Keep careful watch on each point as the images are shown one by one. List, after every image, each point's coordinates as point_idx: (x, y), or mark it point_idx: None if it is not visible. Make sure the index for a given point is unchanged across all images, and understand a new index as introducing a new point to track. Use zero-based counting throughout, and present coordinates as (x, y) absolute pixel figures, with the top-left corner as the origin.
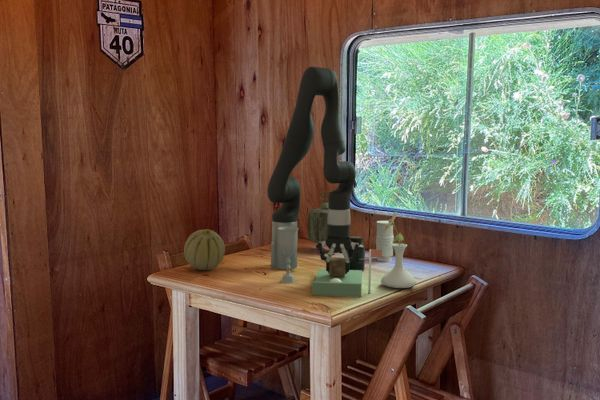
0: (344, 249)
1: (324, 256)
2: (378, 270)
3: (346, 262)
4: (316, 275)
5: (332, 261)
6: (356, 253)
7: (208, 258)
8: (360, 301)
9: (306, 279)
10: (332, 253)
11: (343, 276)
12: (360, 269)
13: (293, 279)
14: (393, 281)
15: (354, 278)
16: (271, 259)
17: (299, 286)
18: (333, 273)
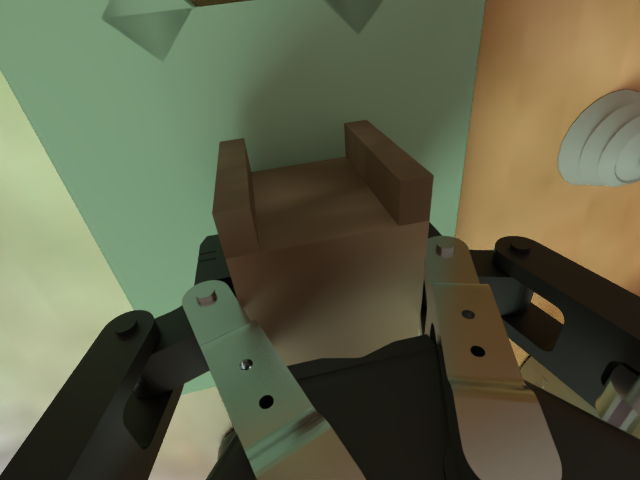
0: (253, 425)
1: (503, 290)
2: (151, 470)
3: (222, 283)
4: (460, 187)
5: (390, 221)
6: (41, 426)
7: None
8: None
9: (490, 216)
10: (439, 307)
11: (231, 141)
12: (229, 439)
13: (592, 133)
14: None
15: (144, 195)
16: None
17: (556, 21)
18: (337, 165)
